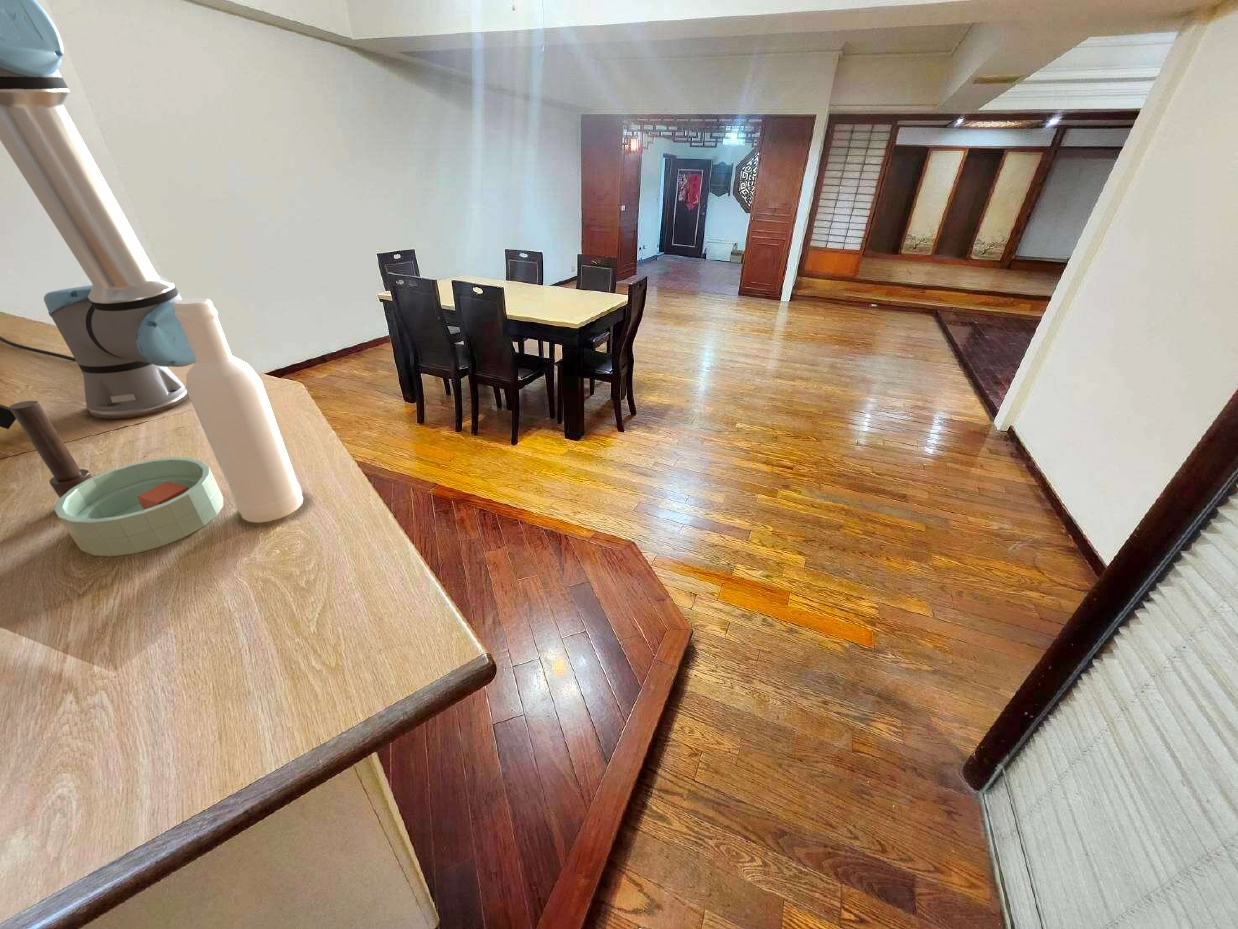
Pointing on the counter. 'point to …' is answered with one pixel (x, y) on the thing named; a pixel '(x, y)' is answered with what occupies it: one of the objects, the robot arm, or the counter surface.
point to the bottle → (237, 419)
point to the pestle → (49, 446)
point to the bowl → (139, 506)
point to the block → (161, 494)
